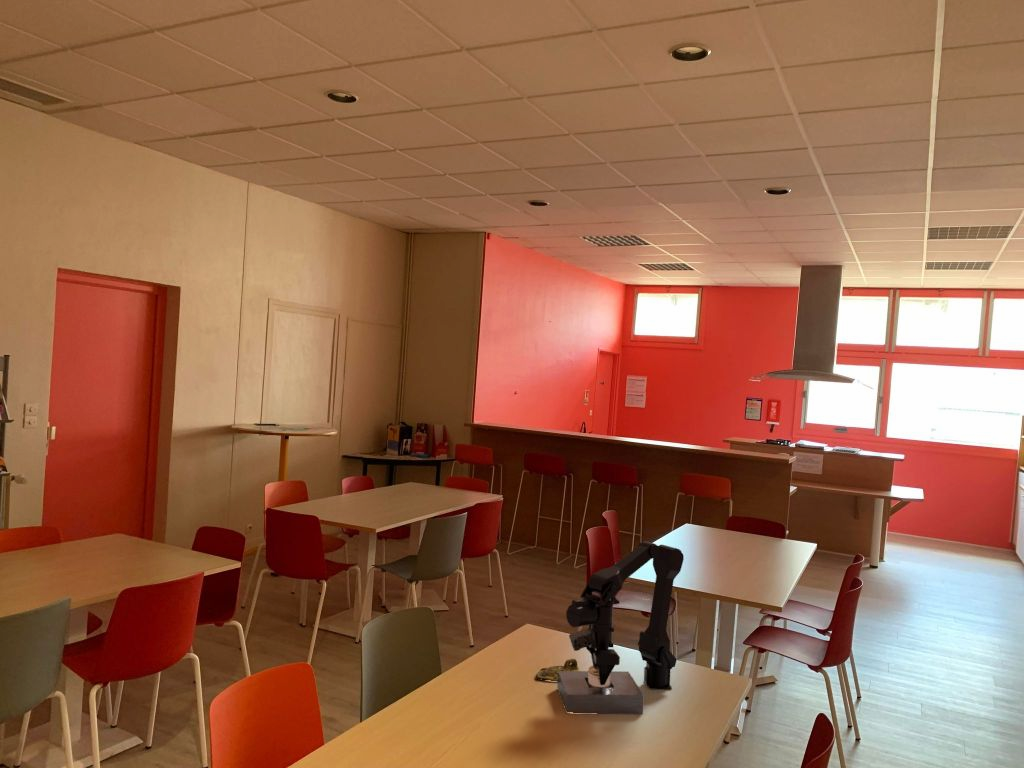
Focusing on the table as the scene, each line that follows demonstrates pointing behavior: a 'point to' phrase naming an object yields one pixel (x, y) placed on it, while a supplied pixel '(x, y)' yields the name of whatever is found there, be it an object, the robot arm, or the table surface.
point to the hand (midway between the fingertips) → (599, 679)
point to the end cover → (596, 678)
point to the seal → (552, 672)
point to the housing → (600, 694)
